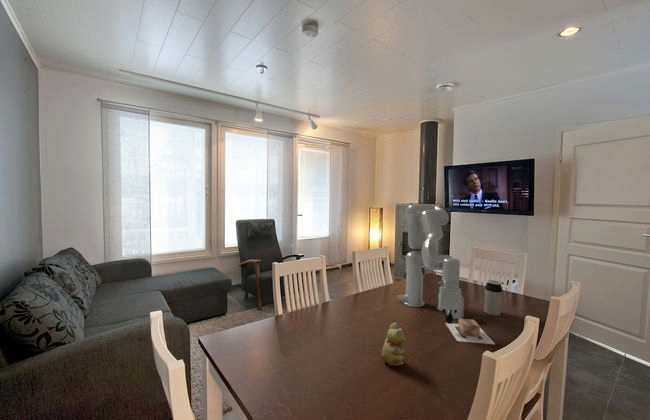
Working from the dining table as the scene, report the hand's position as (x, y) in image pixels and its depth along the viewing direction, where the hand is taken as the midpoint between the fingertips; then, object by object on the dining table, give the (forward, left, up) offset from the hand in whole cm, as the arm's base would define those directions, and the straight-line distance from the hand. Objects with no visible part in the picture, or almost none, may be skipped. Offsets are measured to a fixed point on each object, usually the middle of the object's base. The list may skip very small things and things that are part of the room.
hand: (448, 322), depth 133 cm
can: (+9, +19, -5) cm, 21 cm away
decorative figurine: (-30, -29, -5) cm, 42 cm away
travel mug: (+32, +29, -5) cm, 44 cm away
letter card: (+9, +1, -5) cm, 11 cm away
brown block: (+9, +1, -4) cm, 10 cm away
